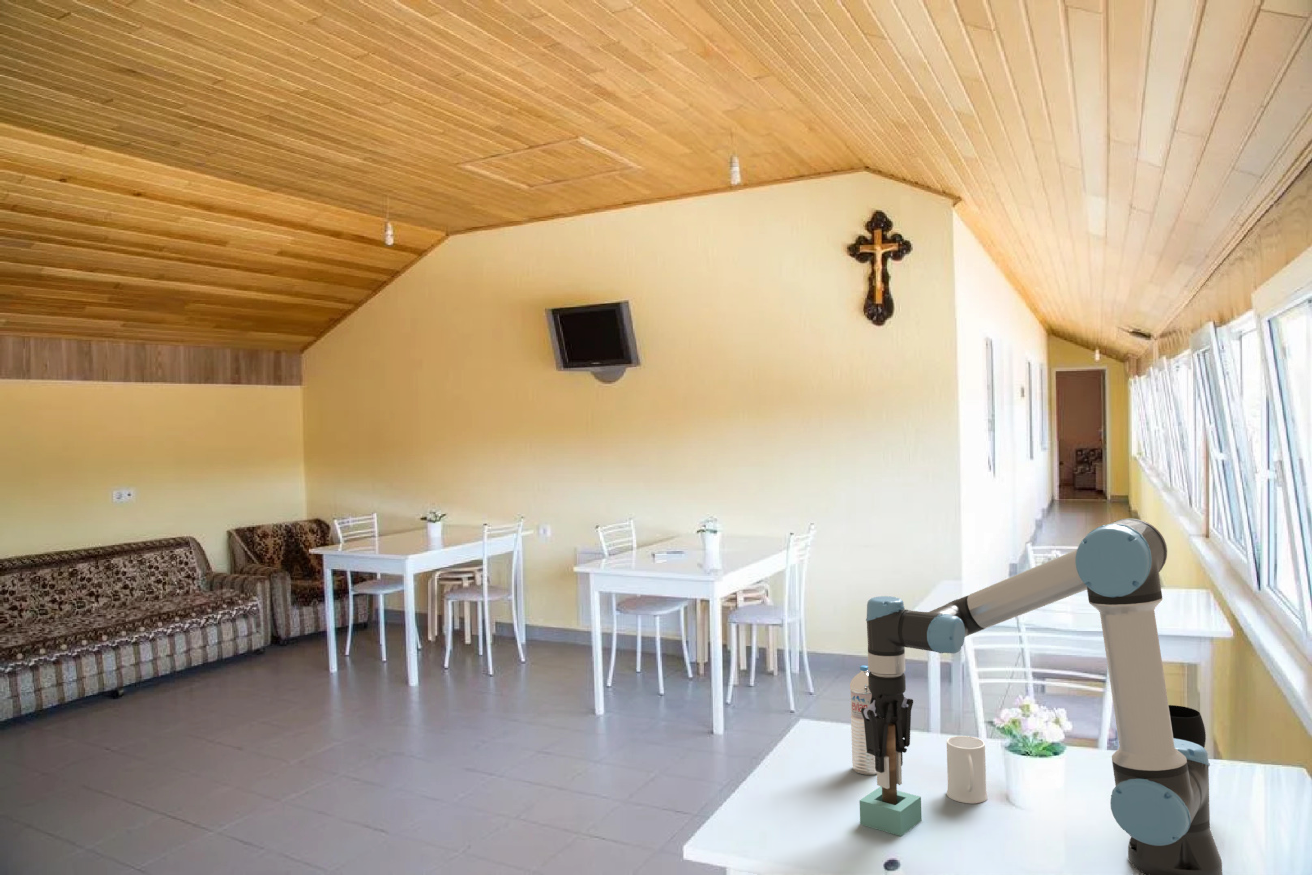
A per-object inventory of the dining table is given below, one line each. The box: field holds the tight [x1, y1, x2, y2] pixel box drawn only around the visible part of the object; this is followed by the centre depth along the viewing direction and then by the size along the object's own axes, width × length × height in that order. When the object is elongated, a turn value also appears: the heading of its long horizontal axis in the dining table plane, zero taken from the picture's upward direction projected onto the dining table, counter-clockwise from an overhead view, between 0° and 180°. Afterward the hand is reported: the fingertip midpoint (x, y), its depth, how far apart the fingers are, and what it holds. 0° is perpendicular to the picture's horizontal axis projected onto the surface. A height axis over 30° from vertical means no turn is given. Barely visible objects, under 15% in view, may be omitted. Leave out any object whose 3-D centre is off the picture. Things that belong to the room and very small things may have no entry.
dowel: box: [882, 723, 898, 805], centre depth 192 cm, size 3×3×18 cm
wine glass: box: [1168, 704, 1207, 748], centre depth 196 cm, size 10×10×20 cm
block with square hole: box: [859, 786, 923, 837], centre depth 192 cm, size 9×9×5 cm
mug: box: [946, 735, 989, 804], centre depth 203 cm, size 12×8×12 cm
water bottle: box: [849, 664, 877, 776], centre depth 221 cm, size 7×7×25 cm
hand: (889, 784), depth 192 cm, fingers closed on dowel, 3 cm apart
